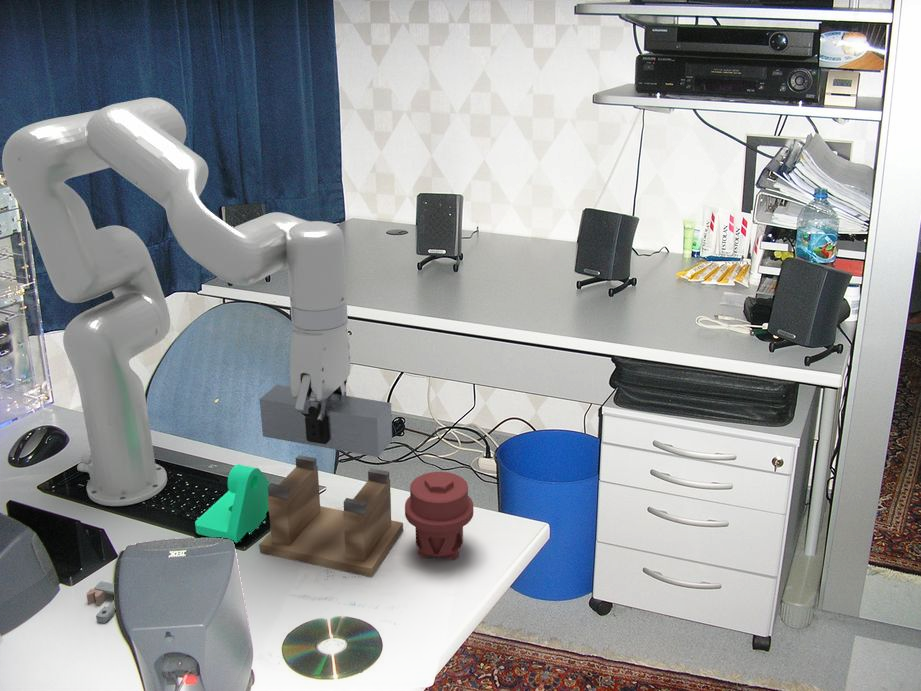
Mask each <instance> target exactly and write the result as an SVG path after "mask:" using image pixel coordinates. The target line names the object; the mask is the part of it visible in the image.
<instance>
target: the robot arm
mask: <svg viewBox="0 0 921 691" xmlns="http://www.w3.org/2000/svg"><path fill="white" fill-rule="evenodd" d="M186 126H187V125H186V123H185V120H184V118H183V116H182V114H181V113H180V112H179V110H178V109H177V108H176V107H175V106H174V105H172V104H171V103H170V102H168V101H166V100H164V99H163V98H158V97H151V96H150V97H145V98H144V97H143V98H139V99H133V100H129V101H124V102H117V103H113V104H110V105H107V106H105V107H102V108H100V109H97V110H92V111H87V112H82V113H77V114H72V115H67V116H66V115H65V116H59V117H55V118H49V119H45V120H41V121H38V122H34V123H31V124H28V125H26V126H23V127H22V128H20V129H18V130H17V131H15V132H14V133H12V134H11V135H10V137H9V138H8V139H7V141H6V143H5V145H4V147H3V150H2V156H1V158H2V159H1V162H2V163H1V164H2V170H3V174H4V178H5V181H6V184H7V186H8V187H9V189H10V191H11V194H12V195H13V196H14V198H15V200H16V201H17V203H18V205H19V207H20V208H21V210H22V212H23V214H24V216H25V217H26V220H27V222H28V224H29V227H30V230H31V232H32V236H33V239H34V240H35V243H36V246H37V249H38V251H39V252H38V253H40V257H41V259H42V262H43V264H44V268H45V269H46V272H47V275H48V277H49V280H50V282H51V284H52V287H53V289H54V291H55V292H56V294H57V295H58V296H59V297H60V298H61V299H62V300H63V301H65V302H66V303H67V302H68V303H72V304H79V303H80V304H81V303H84V302H87V301H91V300H94V299H96V298H99V297H101V296H103V295H106V294H108V293H110V292H112V294H113V297H114V298H113V299H112V298H111V299H110V300H108V301H105V302H102V303H100V304H98V305H95V306H94V307H91V308H90V309H87V310H85V311H83V312H81V313H80V314H77V315H76V316H74V318H73V319H71V320H70V322H69V323H68V324H67V325H66V327H65V328H64V332H63V335H62V343H63V347H64V352H65V354H66V357H67V358H68V360H69V364H70V365H71V368H72V371H73V374H74V376H75V380H76V384H77V387H78V392H79V393H78V394H79V398H80V402H81V406H82V407H81V408H82V412H83V417H84V424H85V428H86V434H87V435H86V436H87V439H88V440H87V441H88V445H89V451H90V453H88V452H83V453H82V454H81V456H80V458H79V459H80V460H79V461H80V462H79V463H78V465H77V466H76V467H77V468H76V469H77V471H79V472H82V473H83V472H84V473H88V474H89V478H90V479H89V480H88V481H87V484H86V492H87V493H86V494H87V497H89V499H90V500H91V501H92V502H94V503H97V504H99V505H101V506H106V507H107V506H109V507H124V506H130V505H131V506H132V505H135V504H138V503H142V502H144V501H146V500H149V499H151V498H153V497H155V496H157V495H158V494H159V493H160V492H161V491H162V490H163V489H164V488H165V487H166V485H167V482H168V476H167V475H168V474H167V471H166V470H165V468H164V467H163V466H161V464H157V463H156V460H155V452H154V445H153V439H152V431H151V425H150V419H149V413H148V412H149V411H148V406H147V398H146V393H145V388H144V384H143V382H142V379H141V378H140V376H139V375H138V374H137V373H136V372H135V371H134V370H133V368H132V367H131V365H130V360H131V359H133V358H134V357H136V356H138V355H139V354H141V353H144V352H145V351H147V350H148V349H150V348H152V347H153V346H156V345H157V344H159V343H161V342H162V341H163V340H164V339H166V336H167V335H168V334H169V332H170V327H171V317H170V311H169V308H168V303H167V301H166V298H165V295H164V292H163V290H162V289H163V288H162V286H161V283H160V280H159V277H158V275H157V274H158V273H157V271H156V268H155V265H154V262H153V260H152V258H151V257H152V256H151V255H150V252H149V250H148V248H147V246H146V245H145V243H144V242H143V240H142V239H141V238H140V236H138V234H137V233H136V232H134V231H133V230H131V229H130V228H128V227H125V226H121V225H115V224H114V225H107V226H105V227H101V228H96V226H95V225H94V222H93V219H92V216H91V214H90V210H89V208H88V205H87V204H86V202H85V201H84V200H83V198H82V197H81V196H80V195H79V194H78V192H76V191H75V190H74V189H73V188H72V187H71V186H70V185H68V184H66V183H65V181H67V180H69V179H72V178H75V177H80V176H84V175H88V174H91V173H95V172H98V171H102V170H106V169H110V168H111V169H112V170H114V172H116V173H117V174H119V175H120V176H122V177H123V178H124V179H126V180H127V181H128V182H130V183H131V184H132V185H134V186H135V187H137V188H138V189H139V190H140V191H142V192H143V193H145V194H146V195H147V196H148V197H149V198H151V199H153V200H154V201H155V202H156V203H158V204H159V205H161V206H162V207H163V208H164V209H165V212H166V213H165V214H166V217H167V222H168V225H169V227H170V230H171V232H172V234H173V236H174V238H175V239H176V241H177V243H178V245H179V246H180V247H181V249H182V250H183V251H184V252H185V253H186V254H187V255H188V256H189V257H190V259H192V260H194V261H195V262H196V263H197V264H199V265H200V266H202V267H203V268H204V269H205V270H207V271H208V272H210V273H211V274H213V275H214V276H216V277H217V278H219V279H220V280H223V281H224V282H227V283H228V284H231V285H235V286H249V285H252V284H255V283H257V282H259V281H261V280H263V279H264V278H267V277H269V276H271V275H272V274H275V273H276V272H279V271H282V270H285V269H287V276H288V278H287V279H288V287H289V288H288V289H289V299H290V300H289V303H290V315H291V316H290V318H291V327H292V329H293V330H292V331H291V337H290V350H289V380H290V381H289V383H290V385H289V387H291V395H292V397H293V398H297V397H298V398H297V402H296V406H295V409H296V410H297V411H299V412H300V413H301V414H303V418H305V426H306V439H307V441H309V442H314V443H320V444H327V443H328V442H329V438H328V421H327V418H325V417H324V415H325V401H326V398H328V397H329V396H330V395H331V394H339V395H345V396H347V390H346V384H347V383H348V378H349V377H350V374H351V350H350V340H349V332H348V324H349V318H348V317H349V316H348V300H347V281H346V280H347V279H346V277H347V276H346V258H345V240H344V234H343V231H342V228H340V227H339V226H338V225H336V223H333V222H329V221H321V220H320V221H319V220H316V221H315V220H314V221H313V220H311V221H310V220H307V219H304V218H299V217H297V216H294V215H291V214H288V213H284V212H278V211H276V212H270V213H267V214H264V215H261V216H259V217H256V218H254V219H251V220H248V221H246V222H243V223H241V224H239V225H236V226H234V227H232V226H231V225H230V224H228V223H227V222H225V221H224V220H222V219H221V218H220V217H219V216H217V215H216V214H215V213H213V212H212V211H210V209H208V208H207V206H206V205H205V204H204V203H203V202H202V200H201V199H200V196H201V194H202V192H203V191H204V189H205V187H206V184H207V182H208V178H209V167H208V164H207V162H206V160H205V159H203V157H202V156H200V155H199V154H197V153H196V152H194V151H193V150H192V149H191V148H189V147H188V146H186V145H185V141H186V138H187V127H186ZM311 392H314V394H316V395H317V396H313V395H311ZM311 401H313V402H318V410H317V409H316V408H315V407H313V406H311Z"/></svg>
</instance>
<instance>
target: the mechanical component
mask: <svg viewBox="0 0 921 691" xmlns="http://www.w3.org/2000/svg"><path fill="white" fill-rule="evenodd" d="M409 493H410V494H409V495H410V496H409V497H407V499H406V501H405V504H404V516H405V518H406V520H407V522H408V523H410V524H411V525H412V526H413V527H415V545H416V547H417V554H418V556H419V557H420V558H431V557H432V558H434V557H436V558H437V557H439V558H446V559H449V560H457V559H458V558H459V556H460V549H461V548H462V547H463V543H464V527H465V526H466V525H467V524H469V523H470V522H471V521H472V519H473V516H474V502H473V500H472V498H471V497H470V496H469V485H468V482H467V481H466V480H465V478H463V477H462V476H460V475H458V474H456V473H452V472H447V471H431V472H427V473H424V474H421V475H418V476H417V477H416V478H414V479H413V480H412V481H411V483H410V488H409Z"/></svg>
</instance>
